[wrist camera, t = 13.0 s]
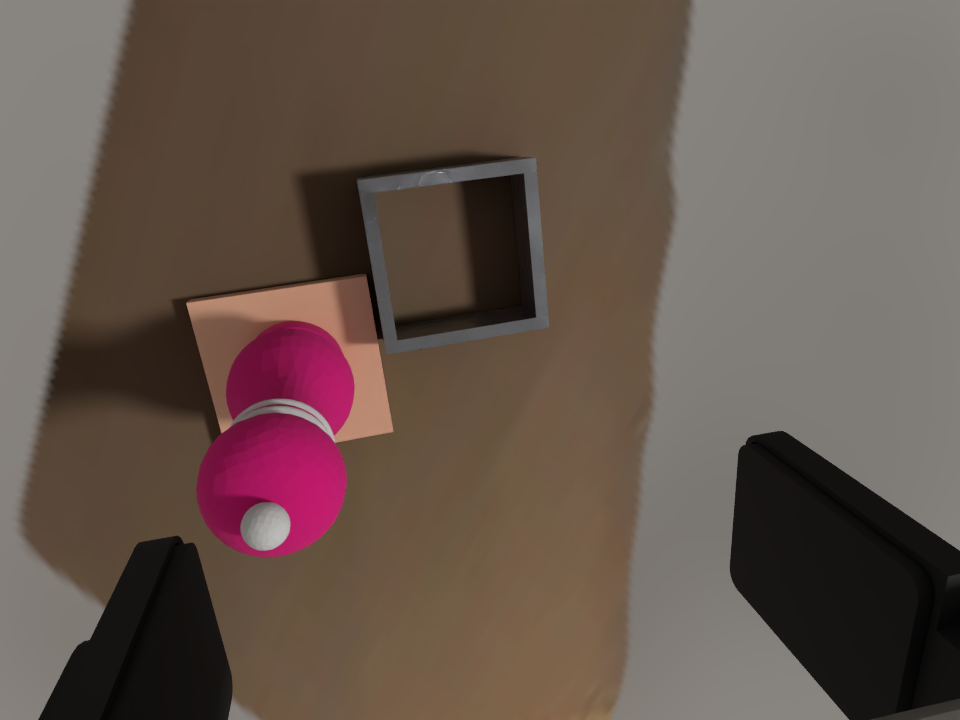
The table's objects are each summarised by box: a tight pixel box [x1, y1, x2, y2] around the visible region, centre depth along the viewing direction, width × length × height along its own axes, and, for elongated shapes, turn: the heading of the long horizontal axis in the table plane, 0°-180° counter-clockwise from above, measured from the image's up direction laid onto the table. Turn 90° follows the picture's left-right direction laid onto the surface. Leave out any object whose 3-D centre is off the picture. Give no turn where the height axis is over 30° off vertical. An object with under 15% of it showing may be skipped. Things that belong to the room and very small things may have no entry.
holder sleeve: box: [356, 157, 549, 355], centre depth 41 cm, size 11×11×4 cm
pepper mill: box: [196, 321, 355, 557], centre depth 33 cm, size 7×7×20 cm
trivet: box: [186, 273, 393, 442], centre depth 43 cm, size 11×11×1 cm
